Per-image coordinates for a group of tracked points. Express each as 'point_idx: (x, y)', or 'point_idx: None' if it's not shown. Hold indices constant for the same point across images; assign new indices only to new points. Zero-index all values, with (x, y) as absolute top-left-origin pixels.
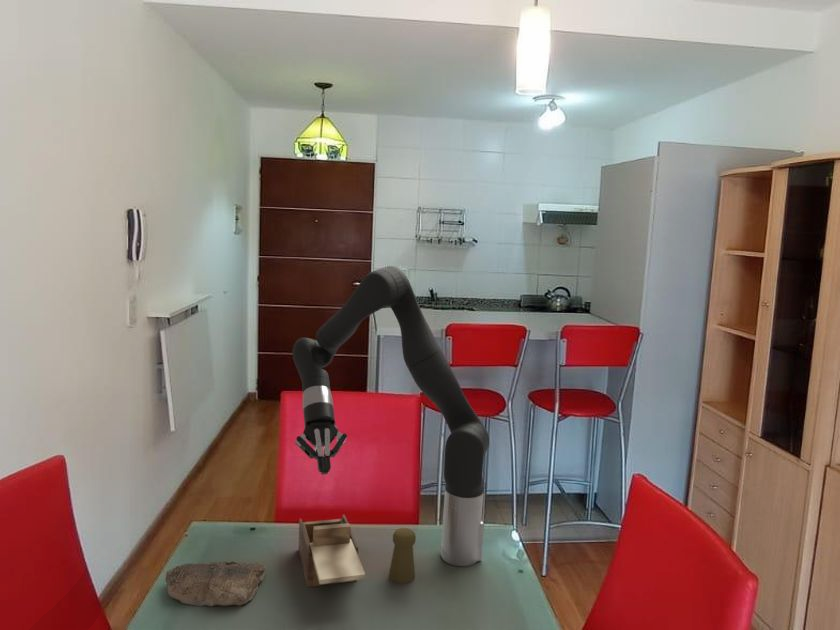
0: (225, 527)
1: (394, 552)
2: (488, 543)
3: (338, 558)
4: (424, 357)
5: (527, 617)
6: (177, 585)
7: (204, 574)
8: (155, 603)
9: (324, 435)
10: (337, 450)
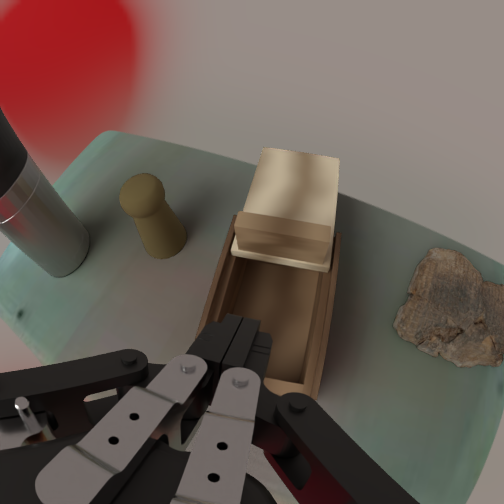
0: None
1: (167, 211)
2: (20, 263)
3: (289, 195)
4: None
5: (112, 136)
6: None
7: (490, 300)
8: None
9: (120, 492)
10: (110, 353)
